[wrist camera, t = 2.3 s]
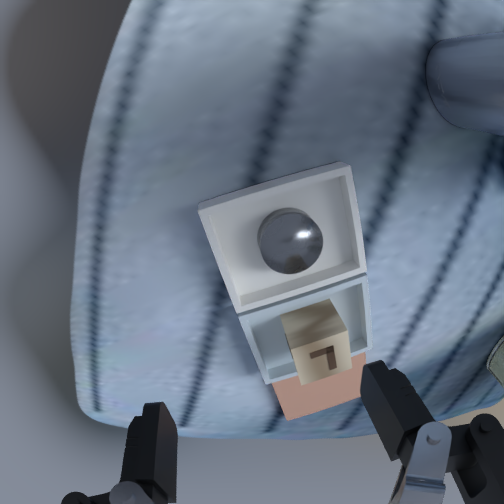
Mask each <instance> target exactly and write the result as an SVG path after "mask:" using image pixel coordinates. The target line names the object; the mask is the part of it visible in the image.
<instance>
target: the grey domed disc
mask: <svg viewBox="0 0 504 504" xmlns="http://www.w3.org/2000/svg"><path fill="white" fill-rule="evenodd" d="M257 242H258V246H259V249H260V252H261V255H262V257H263V260H264V261H265V263H266V264H267V265H268V266H269V267H270V268H271V269H272V270H274V271H276V272H278V273H282V274H296V273H300V272H302V271H304V270H306V269H308V268H309V267H311V266H312V265H313V264H314V263H315V262H316V261H317V259H318V258H319V256H320V254H321V252H322V248H323V236H322V232H321V230H320V228H319V227H318V225H317V224H316V223H315V222H314V221H313V220H312V218H311V217H310V216H309V215H308V214H307V213H305V212H304V211H302V210H300V209H297V208H292V207H286V208H281V209H278V210H275V211H273V212H272V213H270V214H269V215H268V216H267V217H266V218H265V219H264V220H263V221H262V223H261V225H260V227H259V230H258V234H257Z"/></svg>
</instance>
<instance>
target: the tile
mask: <svg viewBox="0 0 504 504" xmlns="http://www.w3.org/2000/svg"><path fill="white" fill-rule="evenodd" d="M351 361H352V368H351V369H349V370H346V371H343V372H340V373H338V374H335V375H332V376H329V377H326V378H323V379H320V380H317V381H314V382H311V383H308V384H305V385H302V386H301V383H300V380H299V376H298V375H297V376H294V377H291V378H287V379H284V380H281V381H277V382H274V383H272V385H273V388H274V390H275V393H276V395H277V397H278V400H279V402H280V405H281V407H282V410H283V412H284V415H285V417H286V420H287V421H288V420H292V419H295V418H298V417H302V416H305V415H308V414H311V413H315V412H318V411H321V410H324V409H327V408H330V407H333V406H336V405H338V404H341V403H344V402H347V401H350V400H352V399H355V398H358V397H360V396H361V395H360V385H361V378H362V370H363V366H364V365H365V364H366V356H365V352H363V353H361V354H358V355H355V356H353V357H351Z"/></svg>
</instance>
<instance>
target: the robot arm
mask: <svg viewBox="0 0 504 504" xmlns="http://www.w3.org/2000/svg"><path fill="white" fill-rule="evenodd" d="M426 79H427V86H428V89H429V93H430V96H431V98H432V100H433V102H434V105H435V106H436V108H437V109H438V111H439V112H440V114H441V115H442V116H443V117H444V118H445V119H446V120H447V121H449V122H450V123H451V124H453V125H455V126H458V127H462V128H468V129H473V130H478V131H483V132H487V133H491V134H496V135H500V136H504V32H495V33H486V34H478V35H469V36H463V37H457V38H451V39H446V40H442V41H440V42H438V43H437V44H435V45H434V47H433V48H432V49H431V51H430V53H429V55H428V59H427V64H426ZM360 395H361V399H362V402H363V404H364V406H365V408H366V410H367V412H368V414H369V416H370V418H371V420H372V422H373V424H374V426H375V428H376V430H377V432H378V434H379V437H380V439H381V441H382V443H383V445H384V447H385V449H386V451H387V453H388V455H389V457H390V460H391V461H394V460H396V459H399V458H400V460H401V462H402V466H401V469H400V472H399V475H398V478H397V481H396V484H395V487H394V490H393V492H392V495H391V498H390V501H389V503H388V504H442V502H443V498H444V494H445V488H446V487H445V484H443V480H444V476H445V473H447V472H451V474H452V476H453V478H454V480H455V482H456V484H457V487H458V488H459V491H460V493H461V495H462V498H463V500H464V502H465V504H504V429H503V428H502V426H501V424H500V423H499V421H498V420H497V419H496V418H495V417H494V416H493V415H490V414H480V415H477V416H476V417H474V418H473V420H472V421H471V423H470V424H465V425H459V426H452V427H449V426H446V425H445V424H443V423H440V422H436V421H435V420H434V418H433V417H432V415H431V414H430V412H429V411H428V409H427V408H426V406H425V405H424V403H423V401H422V400H421V398H420V397H419V395H418V394H417V393H416V391H415V389H414V388H413V386H411V383H410V382H409V380H408V379H407V377H406V376H405V374H403V373H402V372H400V371H399V370H397V369H396V368H394V369H391V370H389V369H388V368H387V366H386V365H385V363H384V362H383V361H382V360H378V361H375V362H372V363H369V364H365V365H364V366H363V370H362V378H361V385H360ZM177 441H178V433H177V428H176V424H175V422H174V420H173V418H172V416H171V415H170V413H169V411H168V409H167V407H166V405H165V403H164V402H155V403H145V404H144V407H143V413H142V416H135V417H134V419H133V420H132V422H131V423H130V425H129V427H128V433H127V439H126V448H125V452H124V458H123V465H122V472H121V478H120V482H119V483H118V484H116V485H115V486H114V487H113V488H112V489H111V491H110V492H108V493H105V494H100V495H96V496H91V497H87V496H86V495H84V494H83V493H80V492H71V493H69V494H67V495H66V496H65V497H64V498H63V500H62V503H61V504H168V503H176V477H177Z"/></svg>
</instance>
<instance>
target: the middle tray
mask: <svg viewBox="0 0 504 504" xmlns="http://www.w3.org/2000/svg"><path fill="white" fill-rule="evenodd" d="M327 299H330V300H331V302H332V304H333V305H334V307H335V309H336V310H337V312H338V314H339V316H340V317H341V319H342V321H343V323H344V324H345V326H346V328H347V330H348V335H349V343H350V352H351V357H353V356H355V355H358V354H361V353H363V352H366V351H368V350H371V349H373V341H372V324H371V310H370V298H369V287H368V277H367V274H366V273H365V272H364V273H361V274H358V275H355V276H352V277H349V278H346V279H344V280H341V281H338V282H335V283H332V284H329V285H326V286H323V287H320V288H317V289H314V290H311V291H308V292H305V293H302V294H299V295H295V296H292V297H289V298H286V299H283V300H280V301H277V302H273V303H270V304H267V305H264V306H260V307H257V308H254V309H251V310H247V311H244V312H240V313H238V318H239V321H240V323H241V326H242V328H243V331H244V333H245V336H246V338H247V341H248V343H249V345H250V348H251V350H252V353H253V355H254V358H255V360H256V362H257V365H258V367H259V370H260V372H261V374H262V377H263V379H264V382H265V384H266V385H267V384H270V383H274V382H277V381H281V380H284V379H287V378H291V377H294V376H297V375H298V373H297V370H296V367H295V364H294V360H293V359H292V355H291V353H290V349H289V346H288V343H287V340H286V336H285V331H284V328H283V324H282V321H281V318H280V315H281V314H284V313H287V312H290V311H293V310H296V309H300V308H303V307H306V306H309V305H312V304H315V303H318V302H321V301H324V300H327Z"/></svg>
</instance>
